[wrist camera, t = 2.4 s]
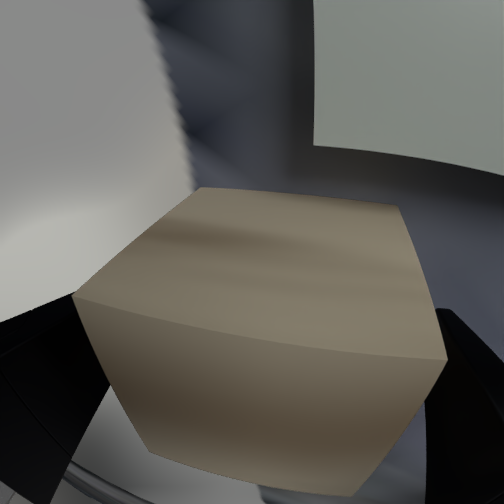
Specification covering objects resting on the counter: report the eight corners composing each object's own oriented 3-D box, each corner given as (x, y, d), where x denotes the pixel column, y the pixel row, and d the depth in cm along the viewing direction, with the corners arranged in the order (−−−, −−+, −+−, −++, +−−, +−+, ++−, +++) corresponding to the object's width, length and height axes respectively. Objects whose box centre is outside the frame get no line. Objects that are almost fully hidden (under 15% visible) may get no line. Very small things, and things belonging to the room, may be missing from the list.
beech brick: (362, 351, 10) (351, 497, 5) (215, 329, 11) (149, 451, 7) (396, 203, 7) (447, 359, 3) (201, 186, 8) (71, 295, 4)
